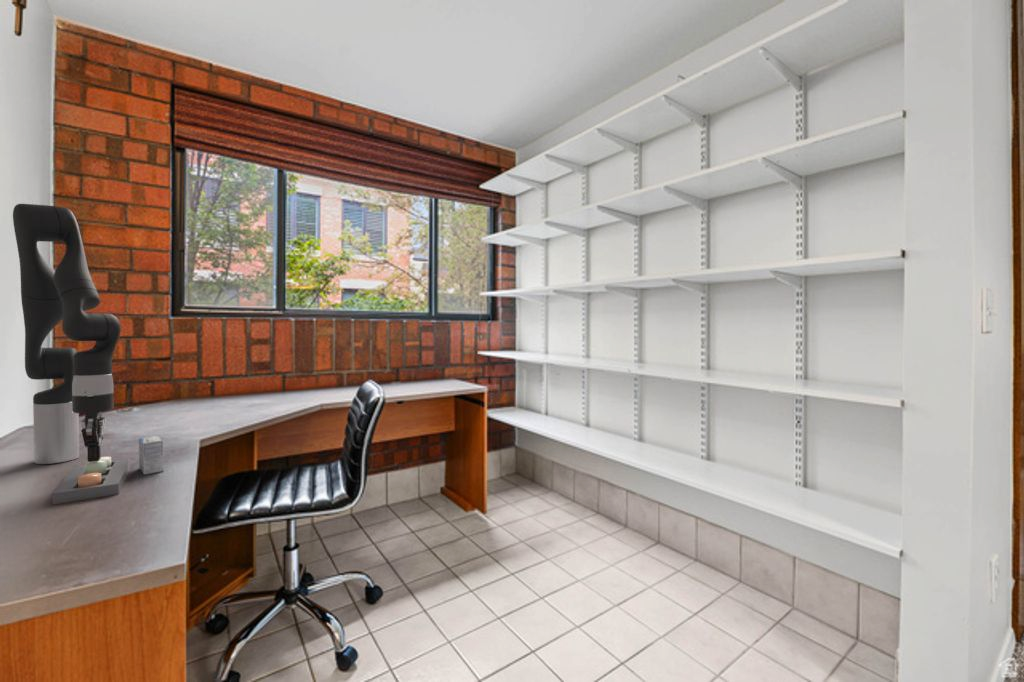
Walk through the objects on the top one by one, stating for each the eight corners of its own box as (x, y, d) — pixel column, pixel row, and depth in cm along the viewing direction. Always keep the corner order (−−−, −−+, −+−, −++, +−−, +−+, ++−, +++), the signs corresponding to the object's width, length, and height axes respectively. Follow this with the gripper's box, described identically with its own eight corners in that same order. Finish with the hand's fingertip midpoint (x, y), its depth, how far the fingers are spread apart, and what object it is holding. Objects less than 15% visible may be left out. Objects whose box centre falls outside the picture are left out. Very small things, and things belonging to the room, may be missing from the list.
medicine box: (164, 471, 121) (163, 440, 120) (143, 475, 117) (142, 443, 117) (159, 465, 126) (158, 435, 126) (138, 468, 123) (138, 438, 123)
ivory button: (92, 469, 118) (92, 458, 117) (112, 466, 120) (112, 455, 120) (89, 473, 114) (89, 461, 114) (110, 470, 117) (110, 459, 117)
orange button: (80, 487, 105) (79, 474, 105) (102, 483, 107) (102, 471, 107) (76, 492, 101) (76, 479, 101) (99, 488, 104) (99, 476, 104)
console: (75, 474, 117) (75, 465, 117) (130, 467, 124) (130, 458, 124) (52, 504, 98) (52, 493, 98) (118, 494, 104) (118, 483, 104)
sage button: (86, 472, 111) (86, 461, 111) (107, 469, 113) (107, 458, 113) (83, 477, 108) (83, 465, 108) (105, 474, 110) (105, 462, 110)
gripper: (78, 390, 113) (79, 457, 113) (65, 396, 102) (66, 470, 103) (117, 388, 117) (117, 452, 118) (109, 394, 107) (109, 464, 107)
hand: (94, 460), depth 110 cm, fingers closed
